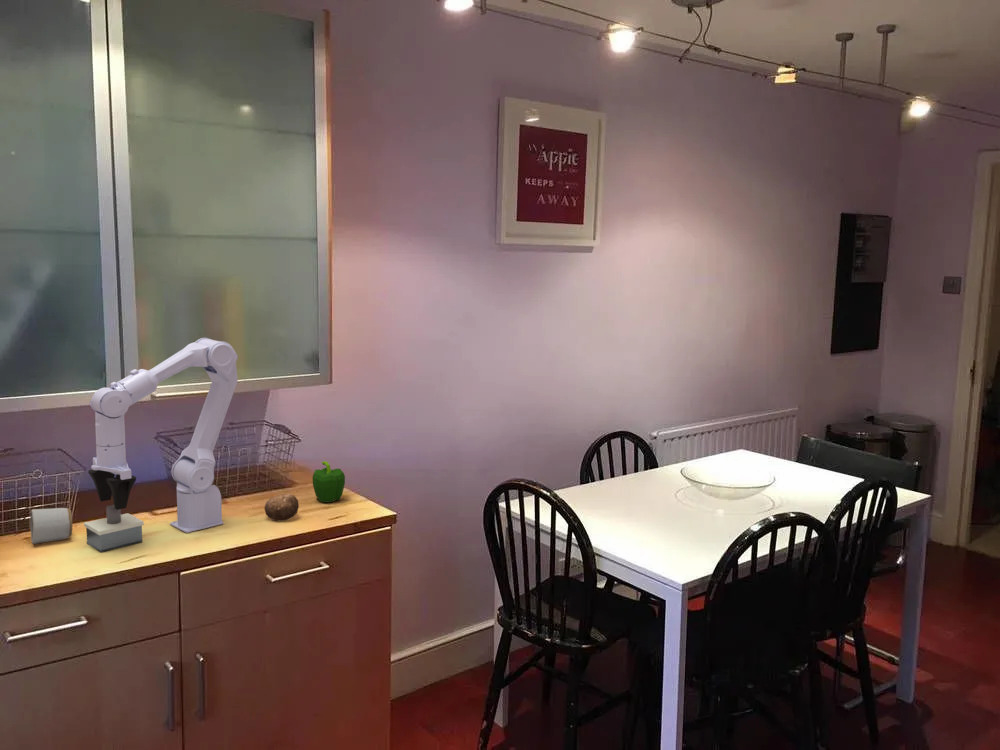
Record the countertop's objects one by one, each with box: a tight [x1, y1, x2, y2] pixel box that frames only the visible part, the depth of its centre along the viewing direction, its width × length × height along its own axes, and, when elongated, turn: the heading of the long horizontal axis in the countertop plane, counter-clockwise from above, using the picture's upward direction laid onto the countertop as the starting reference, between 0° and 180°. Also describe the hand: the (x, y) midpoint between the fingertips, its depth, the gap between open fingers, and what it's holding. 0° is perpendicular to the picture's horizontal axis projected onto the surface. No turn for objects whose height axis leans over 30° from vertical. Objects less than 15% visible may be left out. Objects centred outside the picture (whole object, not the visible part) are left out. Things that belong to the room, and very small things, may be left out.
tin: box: [85, 525, 143, 553], centre depth 183 cm, size 9×7×4 cm
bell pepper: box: [312, 461, 346, 503], centre depth 217 cm, size 8×8×10 cm
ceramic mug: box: [29, 507, 73, 545], centre depth 184 cm, size 10×8×7 cm
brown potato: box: [264, 493, 300, 522], centre depth 203 cm, size 8×8×6 cm
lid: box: [83, 504, 145, 535], centre depth 182 cm, size 10×8×4 cm
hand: (113, 504), depth 181 cm, fingers open, 7 cm apart
